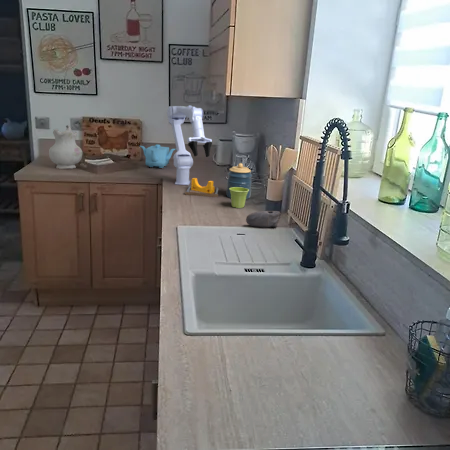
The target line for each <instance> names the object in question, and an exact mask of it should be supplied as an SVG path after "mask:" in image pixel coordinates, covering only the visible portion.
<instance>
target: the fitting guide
mask: <svg viewBox="0 0 450 450" xmlns="http://www.w3.org/2000/svg"><path fill="white" fill-rule="evenodd" d="M218 193H219V187H216V189H215V192H214V193H204V192H199V191H192V190H191V184H189V185H188V187H187V190H186V191H184V194H185V195H186V196H193V197H194V196H195V197H196V196H197V197H210V198H218V197H219V194H218Z"/></svg>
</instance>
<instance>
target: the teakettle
mask: <svg viewBox="0 0 450 450" xmlns="http://www.w3.org/2000/svg"><path fill="white" fill-rule="evenodd" d="M139 147H140V148H141V149H142V150H143V155H144V157H145V166H147V167H153V168H154V167H158V169H159V168H165V167H164V166H166V167H167V165H168V164H170V159H171V158H172V154H173V153H174V151H177V149H176V148H171V149H170V147H169V146H161V144H155V145H151V146H148V147H147V148H146V147H145V146H144V145H139Z"/></svg>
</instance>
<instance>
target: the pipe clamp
mask: <svg viewBox="0 0 450 450" xmlns="http://www.w3.org/2000/svg"><path fill="white" fill-rule="evenodd" d="M190 183H191V184H190V186H191V190H190V191H193V192H198V193H212V194H215V192H216V189H215V187H216V186H214V180H209V181H207V184H206V186H205V185H204V186H202V185H200V184H199V181H198V178H197V177H192V178H191V180H190Z"/></svg>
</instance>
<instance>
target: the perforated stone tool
mask: <svg viewBox="0 0 450 450" xmlns="http://www.w3.org/2000/svg"><path fill="white" fill-rule="evenodd" d="M281 214H282V213H281V212H280V211H278V210H263V211H256V212H252V213H250V214H248V215H246V218H245V222H246V223H247V225H249V226H251V227H259V228H271V227H272V228H277V226H278V224H279V223H280V219H281V216H282V215H281Z"/></svg>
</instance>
